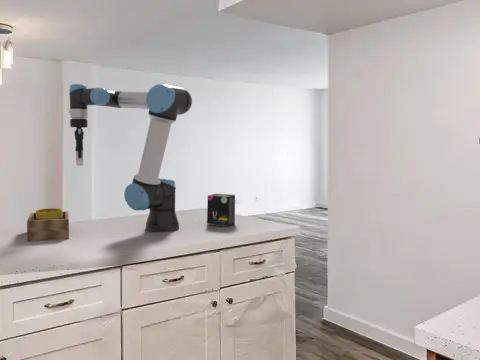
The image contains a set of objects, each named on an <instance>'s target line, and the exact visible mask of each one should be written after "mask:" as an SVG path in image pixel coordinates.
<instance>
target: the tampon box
mask: <svg viewBox="0 0 480 360" xmlns="http://www.w3.org/2000/svg"><path fill="white" fill-rule="evenodd" d="M206 209H207V211H206V213H207V215H206V218H207V219H206V225H207V226H211V227H212V226H215V227H222V226H224V227H223V228H228V227H230V226H234V225H235V223H236V221H235V220H236V194H230V193H229V194H227V193H226V194H225V193H224V194H223V193H213V194H208V195H207V208H206ZM227 226H228V227H227Z"/></svg>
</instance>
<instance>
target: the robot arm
mask: <svg viewBox="0 0 480 360" xmlns="http://www.w3.org/2000/svg"><path fill="white" fill-rule="evenodd" d="M68 95H69V111H68V114H70V115H69V116H70V119H69V124H70V125H69V126H70V127H71V128H75V130H74V134H73V135H74V139H75V148H74V149H75V165H76V166H78V167H79V166H84V145H83V144H84V141H83V140H84V134H85V133H84V130H83V129H84V128H87V127H88V126H89V125H88V119H87V118H88V117H89V116H88V106H100V107H110V108H117V109H122V108H125V109H126V108H127V109H143V110H145V109H147V110H148V113H147V114H148V116H149V118H150V122H149V125H148V131H147V134H146V139H145V143H144V147H143V153H142V155H141V160H140V165H139V168H138V172H137V173H136V174H135V175H133V178H132V181H131V183H129V184H128V185H127V186H126V187H125V189H124V195H123V196H124V200H125V202H126V204H127V206H128V207H129V208H130V209H132V210H134V211H146V210H149V213H148V216H147V219H146V222H145V230H146V231H150V232H171V231H173V232H174V231H177V230H179V229H180V223H179V220H178V216H177V213H176V182H175V180H173V179H172V178H170V179H169V178H160V176H159V175H160V172H161V168H162V164H163V160H164V156H165V152H166V147H167V144H168V141H169V140H168V139H169V134H170V132H171V131H170V130H171V126H172V124H173V123H175V122H176V121H177V117H178V116H179V115H183V114H186V113H188V112H189V111H190V109H191V108H192V105H193V99H192V96H191V93H190V92H189V91H188V90H187V89H185V88H183V87H180V86H174V85H170V84H165V83H164V84H163V83H162V84H161V83H158V84H155V85H153V86H152V87H151V88H149V90H148V91H119V90H109V89H106V88H104V87H91V88H88V87H87V85H86V84H82V83H78V84H77V83H72V84H70V86H69V93H68Z"/></svg>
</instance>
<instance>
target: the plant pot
mask: <svg viewBox="0 0 480 360" xmlns="http://www.w3.org/2000/svg"><path fill="white" fill-rule="evenodd" d="M63 212H64V211H63V209H62V208H57V207H56V208H55V207H50V208H47V207H46V208H40V209H36V210H35V213H36V219H38V220H51V219H61V218H62V216H63Z"/></svg>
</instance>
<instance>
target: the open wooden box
mask: <svg viewBox="0 0 480 360" xmlns="http://www.w3.org/2000/svg"><path fill="white" fill-rule="evenodd" d="M69 217H70V216H69V211H67V210H66V211H63V216H62V218H61V219H51V220H38V219H36V212H30V214H29V216H28V218H27V220H26V231H27V233H26V236H27V240H26V241H27V242H34V241H49V240H51V241H52V240H66V239H70V229H69V228H70V226H69V224H70V222H69V221H70V220H69Z"/></svg>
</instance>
